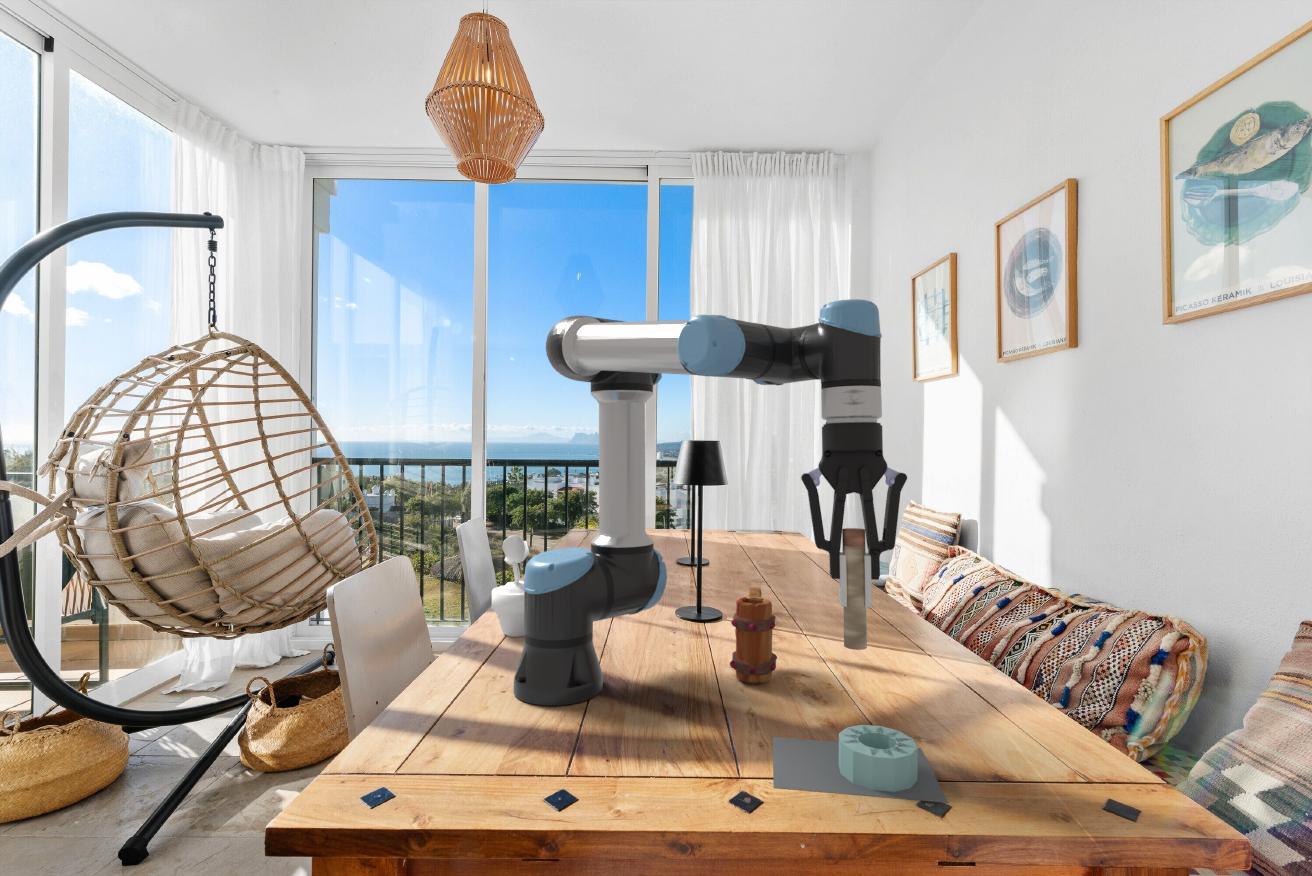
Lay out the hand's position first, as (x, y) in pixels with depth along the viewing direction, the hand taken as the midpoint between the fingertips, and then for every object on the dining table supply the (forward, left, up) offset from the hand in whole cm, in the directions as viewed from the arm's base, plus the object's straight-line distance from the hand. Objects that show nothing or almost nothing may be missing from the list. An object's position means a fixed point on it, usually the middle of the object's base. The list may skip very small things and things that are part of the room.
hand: (855, 604), depth 85 cm
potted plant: (-65, +52, -22) cm, 87 cm away
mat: (0, 0, -22) cm, 22 cm away
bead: (+3, -1, -21) cm, 21 cm away
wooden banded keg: (-13, +34, -22) cm, 43 cm away
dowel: (0, 0, -5) cm, 5 cm away
